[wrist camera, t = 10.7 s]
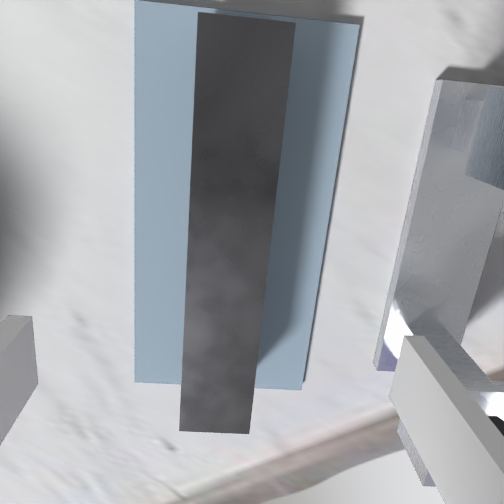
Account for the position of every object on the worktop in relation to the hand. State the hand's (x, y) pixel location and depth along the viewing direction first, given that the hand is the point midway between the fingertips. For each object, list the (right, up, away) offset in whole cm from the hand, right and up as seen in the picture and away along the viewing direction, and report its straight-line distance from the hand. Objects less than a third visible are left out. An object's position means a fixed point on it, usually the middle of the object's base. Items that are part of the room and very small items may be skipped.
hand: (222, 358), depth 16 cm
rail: (0, +5, +14) cm, 15 cm away
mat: (0, +6, +15) cm, 16 cm away
